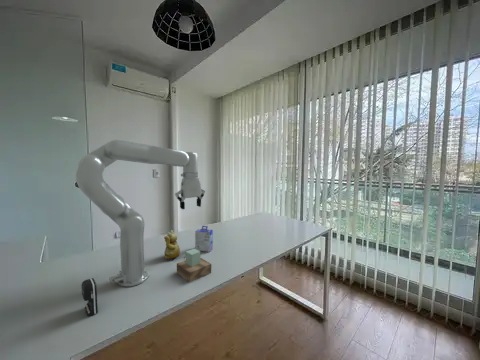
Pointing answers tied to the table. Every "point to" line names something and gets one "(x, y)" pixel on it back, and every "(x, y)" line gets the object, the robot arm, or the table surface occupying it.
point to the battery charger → (90, 296)
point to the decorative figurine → (171, 246)
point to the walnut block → (194, 270)
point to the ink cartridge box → (204, 239)
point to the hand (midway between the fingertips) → (190, 207)
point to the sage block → (193, 257)
